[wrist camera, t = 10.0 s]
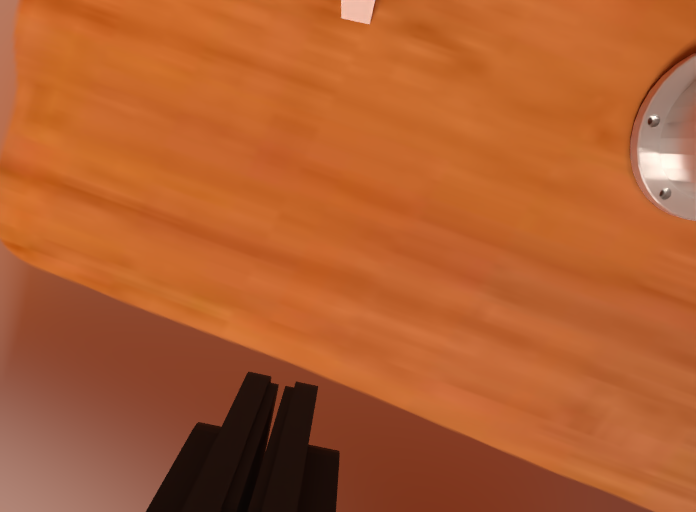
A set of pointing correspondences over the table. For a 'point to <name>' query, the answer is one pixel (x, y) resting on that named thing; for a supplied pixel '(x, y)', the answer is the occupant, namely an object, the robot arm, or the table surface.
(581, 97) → the table surface
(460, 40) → the table surface
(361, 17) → the bridge
